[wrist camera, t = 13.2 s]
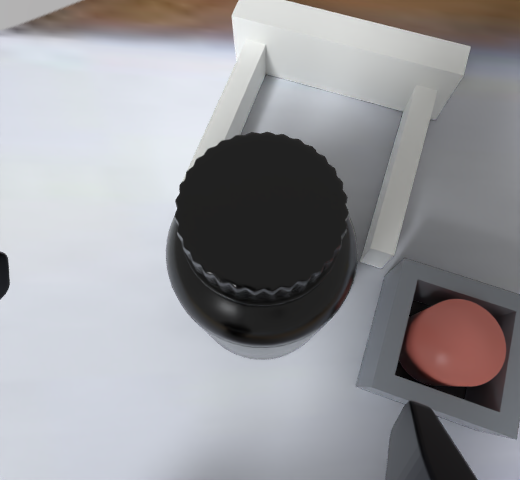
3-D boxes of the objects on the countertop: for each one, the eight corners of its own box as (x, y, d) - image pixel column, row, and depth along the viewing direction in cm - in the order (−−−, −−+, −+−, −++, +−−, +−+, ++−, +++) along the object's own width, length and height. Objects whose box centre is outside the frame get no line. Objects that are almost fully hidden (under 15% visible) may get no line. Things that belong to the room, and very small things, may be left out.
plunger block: (476, 430, 20) (516, 439, 17) (355, 386, 21) (371, 387, 18) (497, 312, 22) (537, 300, 19) (384, 275, 23) (404, 257, 20)
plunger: (461, 397, 20) (498, 399, 17) (387, 370, 21) (410, 368, 17) (474, 325, 21) (512, 314, 18) (404, 302, 22) (428, 287, 19)
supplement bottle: (269, 390, 21) (269, 398, 10) (173, 301, 23) (77, 219, 11) (353, 287, 23) (436, 193, 11) (257, 211, 24) (247, 60, 13)
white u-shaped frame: (395, 273, 23) (420, 251, 19) (175, 202, 25) (158, 169, 21) (442, 94, 26) (470, 46, 23) (247, 42, 28) (243, -11, 24)
